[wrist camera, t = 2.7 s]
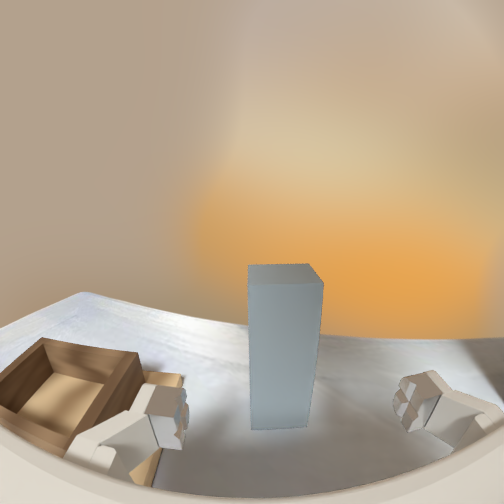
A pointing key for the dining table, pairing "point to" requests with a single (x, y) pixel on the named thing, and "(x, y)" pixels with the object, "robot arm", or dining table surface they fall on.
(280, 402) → the grey block
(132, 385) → the caddy
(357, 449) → the dining table surface
